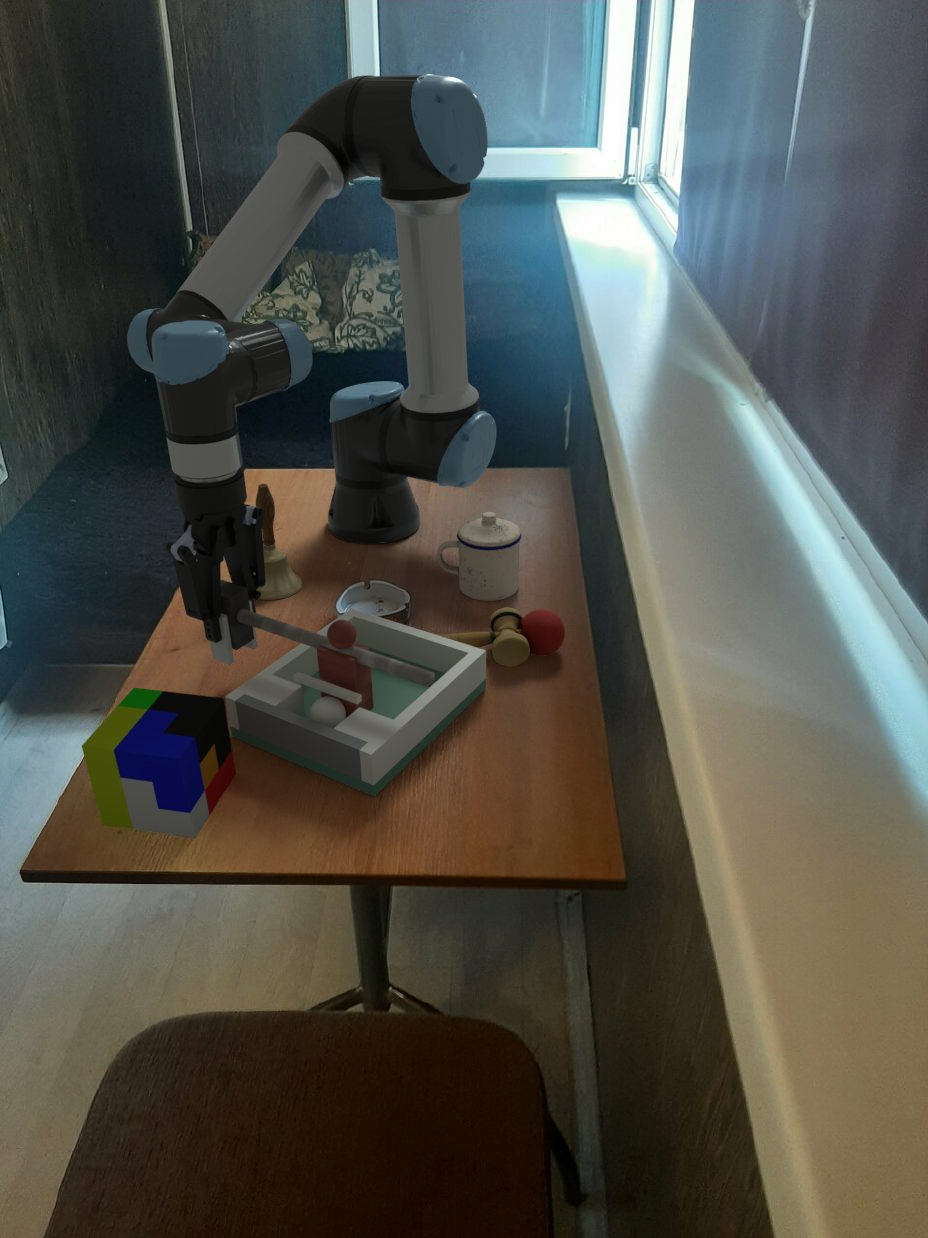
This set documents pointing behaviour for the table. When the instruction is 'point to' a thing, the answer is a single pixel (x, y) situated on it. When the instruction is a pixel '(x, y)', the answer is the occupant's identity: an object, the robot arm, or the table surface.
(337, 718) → the ball
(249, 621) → the striker
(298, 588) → the hand bell
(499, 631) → the kendama
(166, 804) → the puzzle toy
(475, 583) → the teacup with lid
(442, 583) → the table surface
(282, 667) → the pitch
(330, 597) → the table surface
